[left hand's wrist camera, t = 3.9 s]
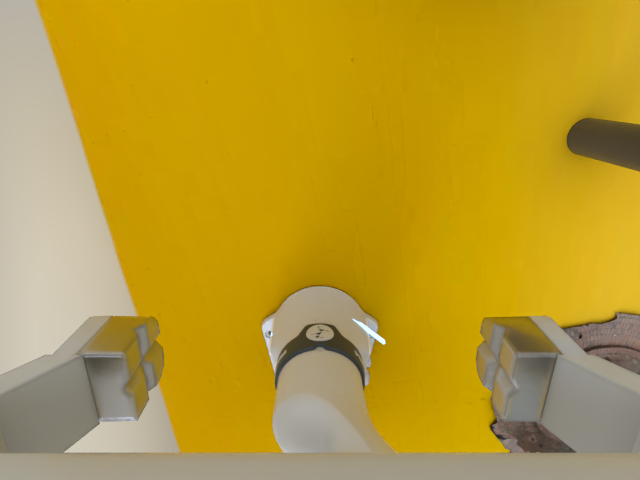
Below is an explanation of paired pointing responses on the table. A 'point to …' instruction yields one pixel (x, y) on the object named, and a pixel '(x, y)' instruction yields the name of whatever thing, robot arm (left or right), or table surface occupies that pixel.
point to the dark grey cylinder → (607, 141)
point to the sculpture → (597, 339)
